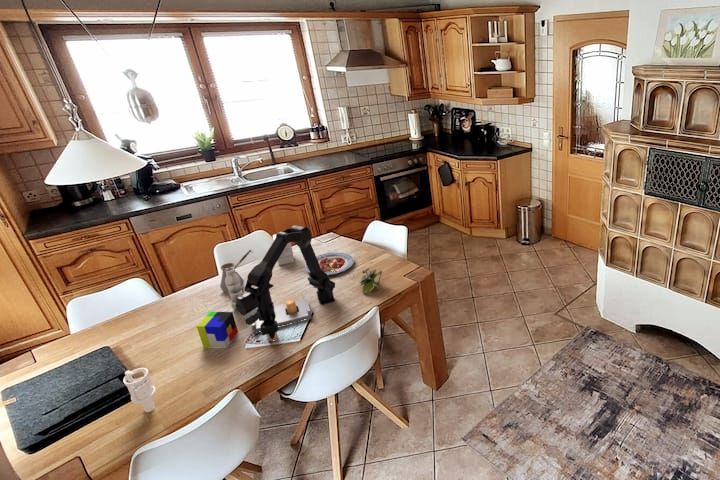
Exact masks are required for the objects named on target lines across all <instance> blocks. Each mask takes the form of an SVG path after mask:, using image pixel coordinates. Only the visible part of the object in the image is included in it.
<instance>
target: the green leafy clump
mask: <svg viewBox="0 0 720 480" xmlns="http://www.w3.org/2000/svg"><path fill="white" fill-rule="evenodd" d="M369 270H370V268H365V269H364V270H362V274H363V276H361V277H360V280H359V282H358V284H360V286H362V293H363V294H367V293H371V292H372V291H373V289H375V287H376V288H378V289H382V286H381V285H380V284H381V283H380V281H381V278H382V277H381V276H382V273H383V271H382V270H378V271H377V270H376V269H372V270H370V271H369ZM368 271H369V272H368ZM364 274H365V275H364ZM377 276H379V278H378V281H375V280H376V277H377Z"/></svg>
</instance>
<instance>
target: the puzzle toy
mask: <svg viewBox="0 0 720 480" xmlns="http://www.w3.org/2000/svg"><path fill="white" fill-rule="evenodd" d="M196 329H197V333H198V334H199V337H200V341H201V345H202V347H203V348H210V349H211V348H218V349H227V348H228V346H229V345H230V344H231V342H232V341H234V339H235V337H236V336H237V335H238V333H239V331H238V326H237V324H236V319H235V315H234V312H233V311H209V312H208V313H207V314H206V315H205V316H204V318H203V319H201V321H200V322H199V323H198V324H197V325H196Z"/></svg>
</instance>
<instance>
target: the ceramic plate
mask: <svg viewBox="0 0 720 480" xmlns="http://www.w3.org/2000/svg"><path fill="white" fill-rule="evenodd" d="M316 258H317V260H318V262H319V265H320V267H321V269H322V270H323V271H324V272H325V273H326V274H327V275H328V276H330V275H331V276H332V275H336V274H339V273H342V272H344V271H346V270H348V269H350V268H351V267H352V265H354V262H355V259H354V257H353V256H352V255H351V254H349V253H346V252H341V251H340V252H339V251H334V252H333V251H332V252H325V253H322V254H318V255H316ZM345 261H346V266H345V267H344V268H342V269H341V270H339V271H336V270H335V269H339V268H341V267H342V266H343V265H344V263H345ZM304 268H305V270H306V272H308V273H309V274H310V271H309V269H308V266H307V264H306V263H305V265H304ZM331 270H334V271H335V272H334V271H333V272H332V271H331Z"/></svg>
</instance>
